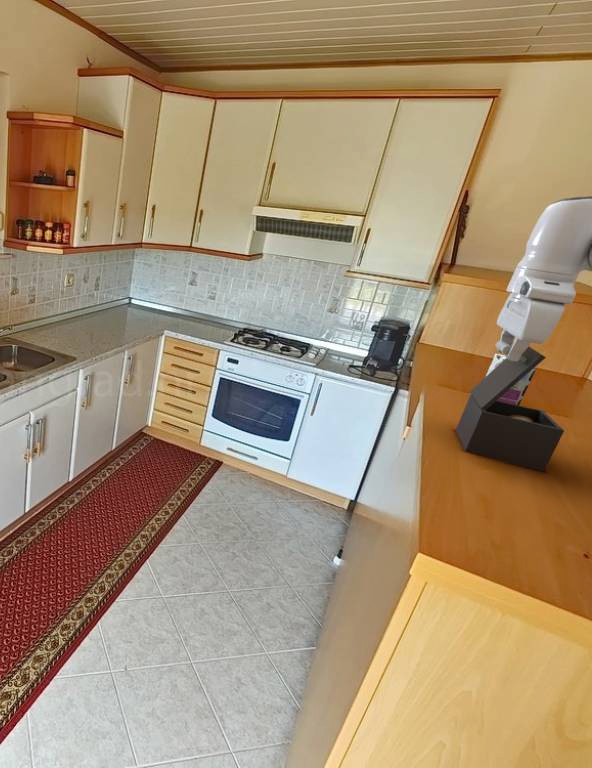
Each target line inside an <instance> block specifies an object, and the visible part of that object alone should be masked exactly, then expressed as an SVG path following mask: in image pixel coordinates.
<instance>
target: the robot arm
mask: <svg viewBox="0 0 592 768" xmlns="http://www.w3.org/2000/svg"><path fill="white" fill-rule="evenodd" d="M525 247H526V248H525V252H524V255H523V257H522V259H521V260H520V261H519V263H518V264H517V265H516V267H515V270H514V272H513V274H512V275H511V279H510V281H509V283H508V286H507V287H506V289H505V290H506V292H509V295H508V297H507V299H506V300H505V302H504V305H503V307H502V308H501V310H500V312H499V314H498V317H497V320H496V325H497V326H498V327H500V328H501V329H502V332H501V334H500V340H499V341H505V342H507V343H508V344H509V345H511V346H512V347H511V349H510V350H509V351H508V353H507V355H506V358H507V359H508V360H511V361H515V362H517V361H519V359H520V357H521V355H522V353H523V352H524V351H525V350H526V349H527V348H528V347H530V345H531V344H537V345H543V344H544V343H545V342H546V341H548V339H549V338H550V337H551V335H552V333H553V332H554V330H555V329H556V326H557V325H558V323H559V321H560V320H561V318H562V316H563V315H564V312H565V310H566V305H571V304H572V303H574V300H575V298H576V295H577V292H576V289H575V283H576V281H577V279H578V276H579V275H580V273H581V272H583V271H588V272H591V273H592V196H588V195H587V196H576V197H575V196H574V197H567V198H566V197H565V198H562V199H559V200H557V201H554V202H553V203H551V204H549V205H548V206H547V207H546V208H545V210H544V211H542V213H541V214H540V216H539V218H538V220H537V222H536V223H535V226H534V228H533V229H532V231H531V233H530V236H529V237H528V240H527V242H526V246H525ZM496 350H497V352H499V353H500V354H503V353H502V352H501V351H500V350H499V349H498V348H496Z"/></svg>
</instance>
